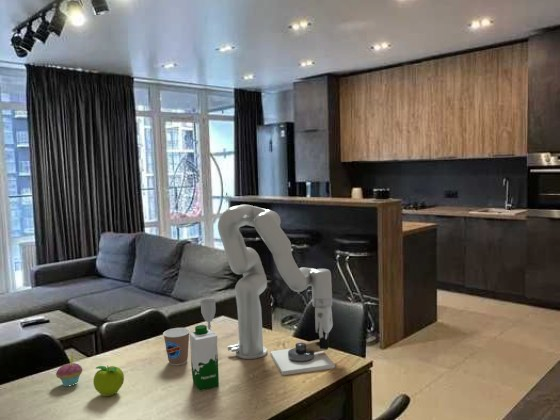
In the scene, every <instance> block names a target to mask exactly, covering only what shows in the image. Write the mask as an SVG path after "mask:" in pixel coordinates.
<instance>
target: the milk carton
mask: <svg viewBox="0 0 560 420" xmlns="http://www.w3.org/2000/svg"><path fill="white" fill-rule="evenodd" d="M207 326H208V325H206V324H199V325H196V326H195V327H194V331H193V332H189V341H190V342H189V344H190V345H189V346H190V362H191V363H190V366H191V376H192V381H193V382H192V383H193V384H194V386H195V387H196V388H197V390H198V391H205V390H209V389H211V388H217V387H219V386H220V383H219V382H220V381H219V379H220V377H219V356H218V335H217V334H216V332H214V331H212V329H211V328H210V329H211V330H210V329H209V330H208V327H207Z"/></svg>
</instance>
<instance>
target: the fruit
mask: <svg viewBox="0 0 560 420" xmlns="http://www.w3.org/2000/svg"><path fill="white" fill-rule="evenodd" d="M95 369H96V370H97V369H99V370H97V371H96V372H95V374H94V377H93V387H94V389H95V390H96V392H98V393H99V394H100V395H101V396H103V397H109V396H113V395H116V393H118V392H119V390H120V389H121V388H122V386H123V384H124V380H125V374H124V371H123V370H122V369H121V368H120V367H117V366H115V365H111V366H109V365H107V366H104V365H99V366H96V367H95Z"/></svg>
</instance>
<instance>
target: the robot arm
mask: <svg viewBox="0 0 560 420" xmlns="http://www.w3.org/2000/svg"><path fill="white" fill-rule="evenodd" d="M281 222H282V221H281V218H280V215H279V214H278V213H277V212H276V211H273V210H271V209H268V208H267V209H266V208H262V207H259V206H256V205H254V206H253V205H250V204H240V205H234V206H231V207H229V208H227V209H226V210H225V211H224V212H222V213H221V215H220V217H219V219H218V222H217V231H218V234H219V237H220V240H221V242H222V245H223V249H224V252H225V255H226V259H227V261H228V265H229V268H230V270H231V271H232V272H233V274H236V275H242V278H241V277H240V279H239V280H238V281H237V282H236V284H235V287H234V297H235V302H236V307H237V308H236V309H237V326H238V327H237V328H238V341H237V343H235V344H233V345H232V344H230V345H227V351H228V352H229V351H231V352H235V356H237V358H240V359H244V360H255V359H260V358H262V357H264V356H266V355H267V353H268V349H267V347H265V346H264V343H263V341H264V339H263V318H262V316H263V315H262V306H261V300H260V295H261V294H262V293H263V292H264V291H265V290H266V289H267V286H268V280H267V275H266V273H265V269H264V267H263V265H262V263H263V262H262V261H261V257H260V255H259V253H258V252H257V251H256V249H254V248H252V247H250V246H249V247H248V246H247V245H246V243H245V239H244V236H243V235H242V232H241V231H240V228H241V227H244V226H250V227H254V228H255V231H256V232H257V233H258V235H259V237H260V238H261V239H262V241H263V243H264V244H265V245H266V246H267V248H268V250H269V251H270V253H271V254H272V258H273V261H274V263H275V266H276V268H277V271H278V273H279V274H280V276H281V278H282V280H283V281H284V282H285V283H286V285H287V286H288V287H289V288H290V289H291V290H292V291H293V292H297V293H301V292H303V291H304V290H306V289H308V287H311V293H312V294H311V298H312V299H311V300H312V307H314V308H315V309H314V314H315V315H314V319H315V320H314V321H315V333H317V334H318V337H319V339H320V349H327V350H329V348H330V341H329V333H330V332H331V331H332V328H333V325H334V323H333V312H332V306H333V291H332V288H333V287H332V284H333V283H332V273H331V270H330V269H327V268H317V269H316V268H313V267H303V266H302V267H300V268H299V266H298V264H297V263H296V262H295V259H294V257H293V254H292V243H291V241H290V239H289V237H288V236H287V234H286V233H285V231H284V230H283V229H282V228H281V224H282V223H281Z"/></svg>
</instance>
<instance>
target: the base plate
mask: <svg viewBox="0 0 560 420" xmlns="http://www.w3.org/2000/svg"><path fill="white" fill-rule="evenodd" d="M291 349H293V348H292V347H291V348H286V349H278V350H272V351H271V350H270V351H269V352H270V353H269V355H270V357H271V359H272V360H273V362H274V364H275V365H276V368H277V369H278V371H279V373H280V374H281V376H286V375H294V374H295V375H296V374H300V373H302V374H303V373H309V372H314V371H323V370H330V369H335V368H336V364H335V363H334V361H333V360H332V358H330V357H329V356H328V355H327V354H326V352H325V350H324V351H320V352H316V353H314V359H313V360H311V361H308V362H293V361H291V360H289V359H288V351H289V350H291Z"/></svg>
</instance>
